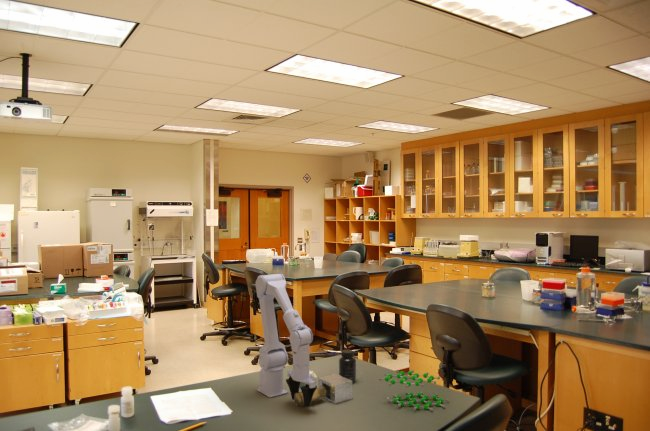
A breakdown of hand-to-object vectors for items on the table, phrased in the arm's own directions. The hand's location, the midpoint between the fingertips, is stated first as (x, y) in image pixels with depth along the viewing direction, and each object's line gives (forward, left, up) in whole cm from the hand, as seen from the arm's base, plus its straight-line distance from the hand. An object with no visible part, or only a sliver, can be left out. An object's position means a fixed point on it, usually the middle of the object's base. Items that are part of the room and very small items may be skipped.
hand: (301, 402), depth 170 cm
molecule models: (+21, +34, -2) cm, 40 cm away
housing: (0, +15, -1) cm, 15 cm away
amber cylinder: (0, +4, 0) cm, 4 cm away
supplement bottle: (-10, +29, -2) cm, 31 cm away
